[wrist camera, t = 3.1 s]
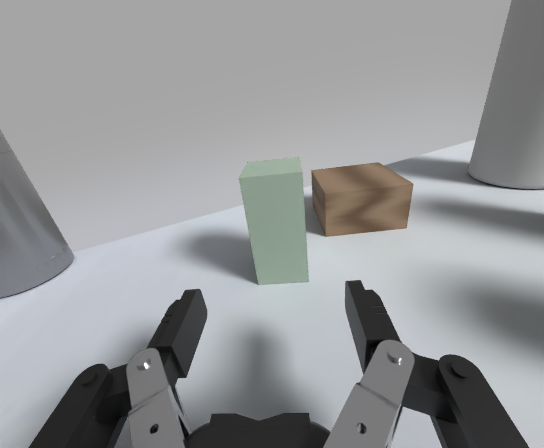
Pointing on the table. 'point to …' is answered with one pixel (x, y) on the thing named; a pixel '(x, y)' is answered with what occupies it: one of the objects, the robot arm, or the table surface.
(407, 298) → the table surface
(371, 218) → the walnut block
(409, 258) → the table surface
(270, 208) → the sage block
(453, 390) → the robot arm
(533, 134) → the cylinder vase
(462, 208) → the table surface
